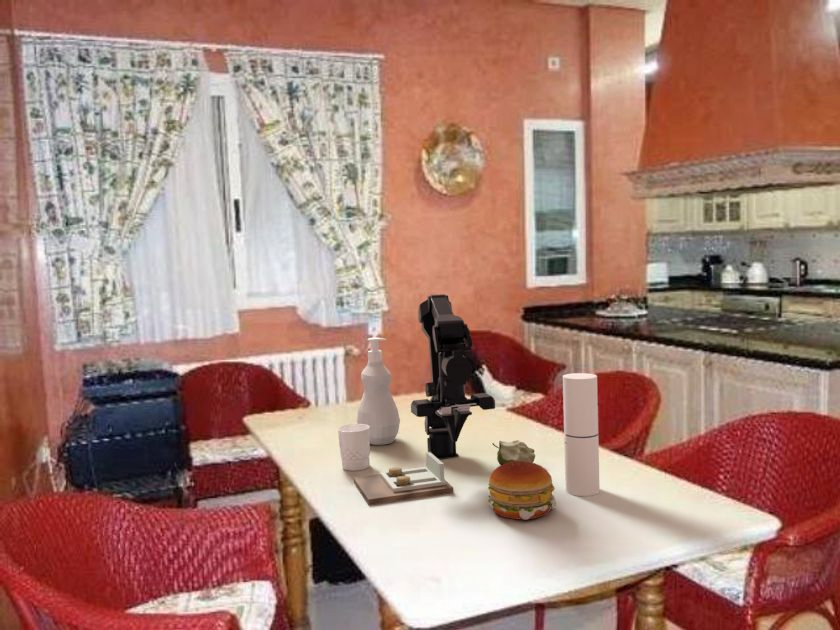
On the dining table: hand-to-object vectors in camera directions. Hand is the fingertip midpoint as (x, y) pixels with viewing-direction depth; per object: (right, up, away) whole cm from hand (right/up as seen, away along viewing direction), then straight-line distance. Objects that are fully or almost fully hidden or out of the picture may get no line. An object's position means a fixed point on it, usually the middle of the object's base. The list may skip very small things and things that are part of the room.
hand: (454, 441), depth 164 cm
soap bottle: (-19, -7, +38) cm, 43 cm away
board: (-12, -10, -3) cm, 16 cm away
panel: (-10, -8, -2) cm, 13 cm away
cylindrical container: (+27, -9, -10) cm, 30 cm away
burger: (+13, -11, -21) cm, 26 cm away
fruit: (+15, -8, +8) cm, 19 cm away
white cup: (-24, -9, +14) cm, 29 cm away
